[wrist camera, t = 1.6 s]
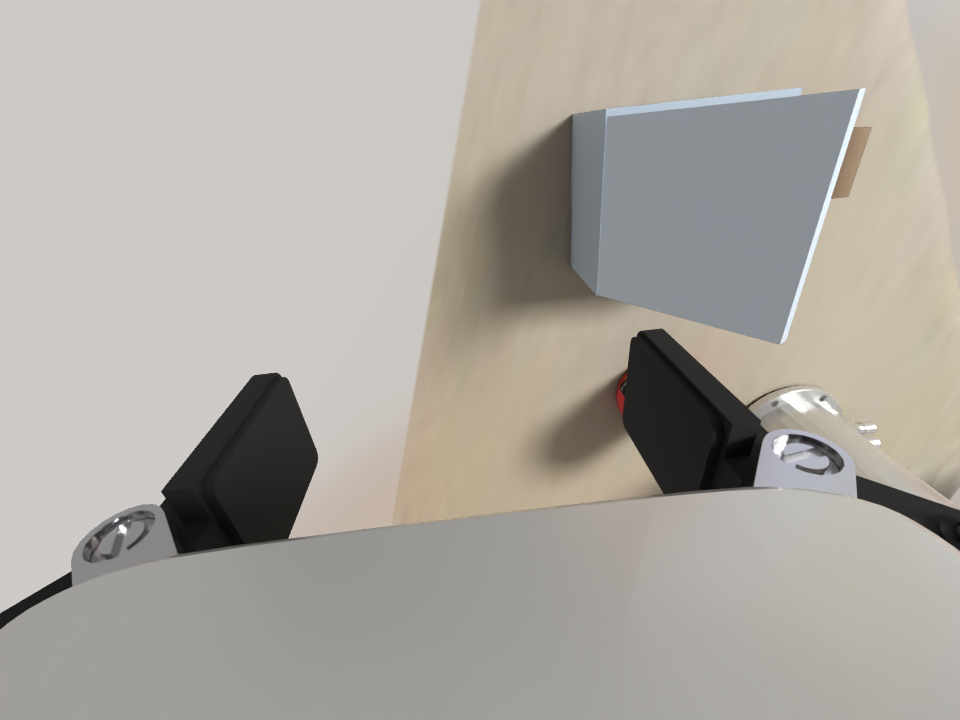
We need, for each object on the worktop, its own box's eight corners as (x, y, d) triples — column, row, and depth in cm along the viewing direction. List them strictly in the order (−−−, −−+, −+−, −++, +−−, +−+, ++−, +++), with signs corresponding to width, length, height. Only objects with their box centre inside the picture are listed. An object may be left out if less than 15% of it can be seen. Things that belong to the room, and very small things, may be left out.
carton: (724, 97, 31) (802, 87, 24) (698, 251, 37) (754, 278, 30) (572, 114, 31) (606, 109, 24) (569, 265, 37) (596, 295, 30)
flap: (865, 88, 16) (859, 89, 16) (786, 339, 21) (780, 344, 21) (615, 115, 24) (607, 116, 24) (604, 292, 30) (597, 295, 29)
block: (805, 128, 33) (871, 126, 28) (789, 187, 35) (848, 196, 30) (750, 134, 33) (806, 134, 28) (738, 193, 35) (788, 203, 30)
